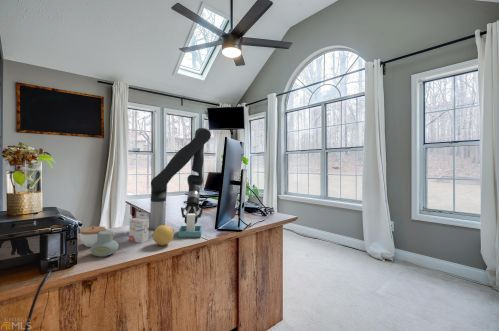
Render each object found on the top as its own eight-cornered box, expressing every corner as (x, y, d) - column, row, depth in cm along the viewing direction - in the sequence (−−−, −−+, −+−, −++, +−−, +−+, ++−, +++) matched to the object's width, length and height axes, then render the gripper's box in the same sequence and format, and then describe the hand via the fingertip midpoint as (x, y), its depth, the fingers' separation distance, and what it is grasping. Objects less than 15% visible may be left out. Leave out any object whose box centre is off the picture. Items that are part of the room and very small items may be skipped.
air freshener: (86, 258, 99) (87, 235, 99) (94, 251, 107) (95, 229, 107) (115, 257, 101) (115, 234, 101) (120, 250, 110) (121, 229, 110)
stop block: (186, 232, 135) (186, 215, 135) (187, 230, 139) (187, 213, 139) (194, 232, 136) (194, 215, 136) (194, 230, 140) (195, 213, 140)
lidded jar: (83, 242, 118) (83, 223, 118) (107, 240, 122) (108, 222, 122) (76, 249, 108) (76, 229, 108) (102, 247, 112) (103, 228, 112)
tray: (177, 237, 130) (178, 231, 130) (180, 231, 143) (181, 225, 143) (200, 237, 132) (201, 231, 132) (201, 231, 145) (202, 225, 145)
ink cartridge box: (128, 241, 122) (129, 213, 122) (135, 238, 127) (136, 211, 127) (141, 243, 120) (142, 214, 120) (148, 240, 125) (149, 213, 125)
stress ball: (169, 249, 115) (180, 233, 121) (156, 237, 110) (169, 220, 117) (157, 248, 120) (169, 232, 127) (145, 236, 116) (158, 220, 123)
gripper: (181, 195, 145) (177, 219, 133) (204, 196, 147) (203, 219, 135) (182, 202, 150) (178, 226, 138) (204, 203, 152) (203, 226, 140)
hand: (190, 223), depth 137 cm, fingers closed on stop block, 4 cm apart
